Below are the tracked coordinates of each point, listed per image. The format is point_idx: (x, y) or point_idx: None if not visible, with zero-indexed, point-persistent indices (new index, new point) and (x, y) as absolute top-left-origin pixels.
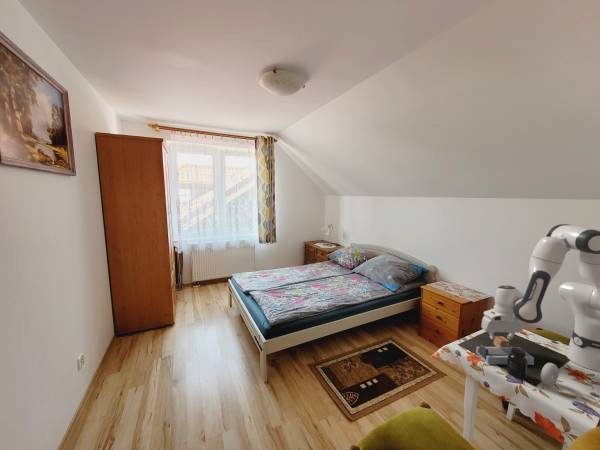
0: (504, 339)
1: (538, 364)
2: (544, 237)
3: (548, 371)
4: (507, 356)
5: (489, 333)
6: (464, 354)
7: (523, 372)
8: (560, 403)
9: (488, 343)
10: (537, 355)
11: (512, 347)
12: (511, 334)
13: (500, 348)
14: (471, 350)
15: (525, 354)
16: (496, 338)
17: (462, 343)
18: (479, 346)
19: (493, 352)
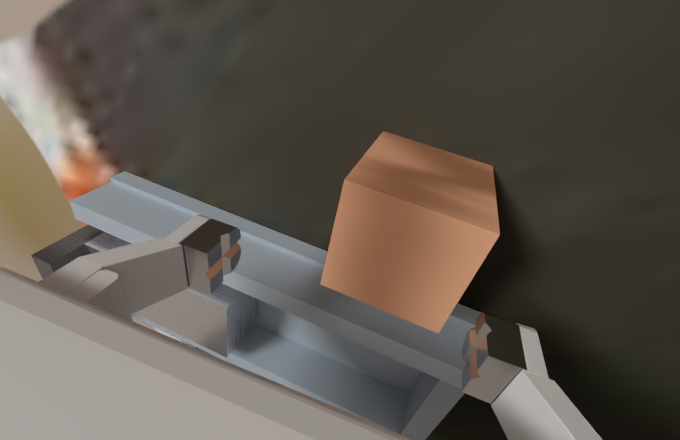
0: (417, 289)
1: (458, 411)
2: None
3: None
4: (229, 356)
5: (128, 253)
6: (46, 160)
7: None
8: None
9: (337, 95)
10: (630, 401)
11: (390, 346)
12: (524, 438)
13: (257, 297)
14: (104, 140)
15: (414, 406)
16: (336, 218)
17: (60, 16)
18: (52, 245)
19: (143, 310)
